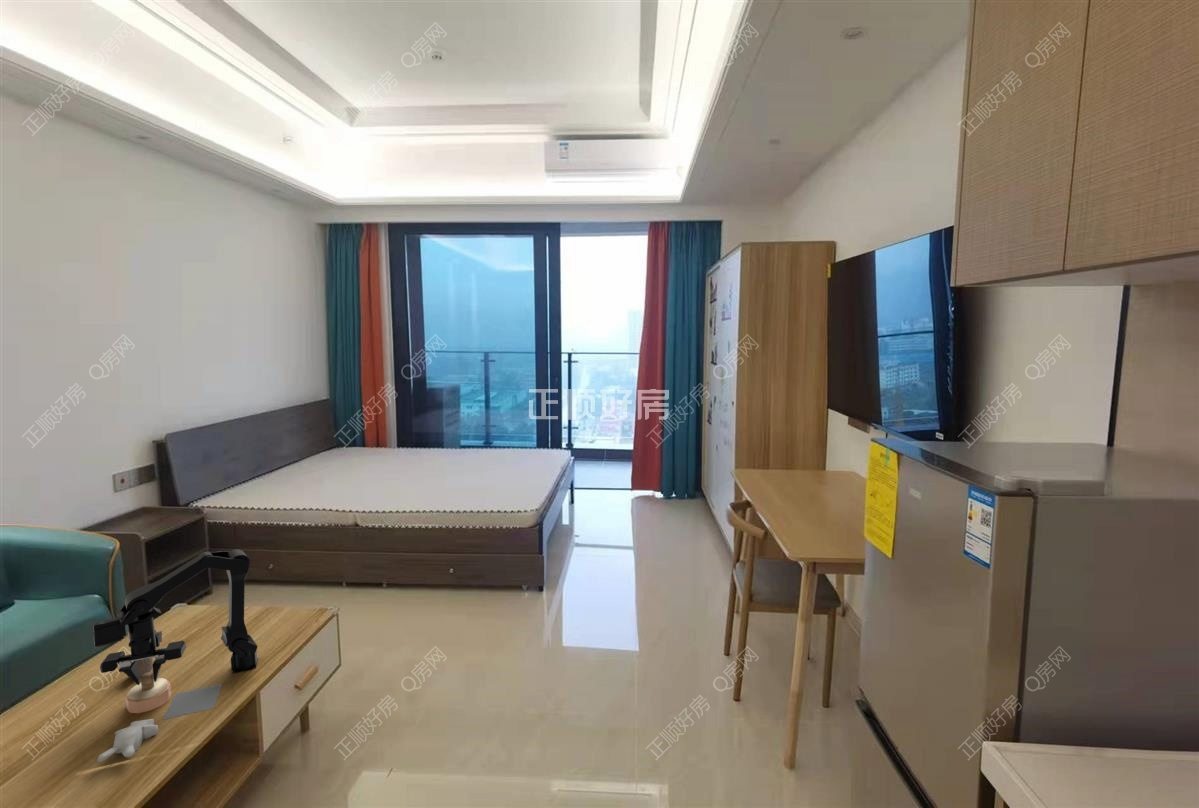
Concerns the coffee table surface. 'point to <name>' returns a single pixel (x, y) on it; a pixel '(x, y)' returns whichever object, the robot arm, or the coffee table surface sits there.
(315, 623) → the coffee table surface
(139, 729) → the grey toy figurine
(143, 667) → the vase
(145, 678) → the lid
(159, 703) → the bowl
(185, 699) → the mat
